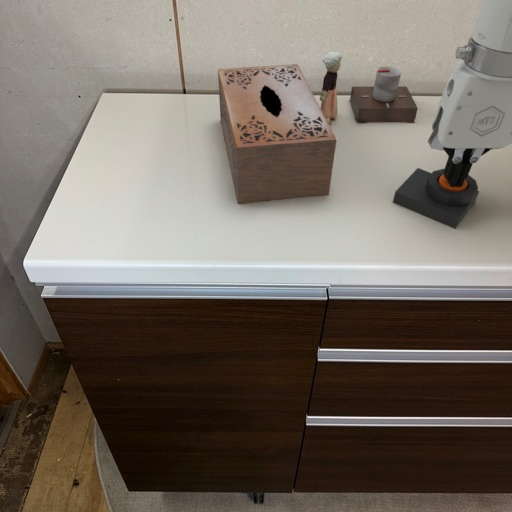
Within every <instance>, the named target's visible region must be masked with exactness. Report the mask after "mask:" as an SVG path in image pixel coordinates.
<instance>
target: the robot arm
mask: <svg viewBox="0 0 512 512" xmlns="http://www.w3.org/2000/svg"><path fill="white" fill-rule="evenodd" d="M455 59H457V60H462V61H458V63H457V65H456V66H455V68H454V70H453V71H452V73H451V75H450V77H449V78H448V81H447V84H446V86H445V88H444V90H443V92H442V94H441V97H440V100H439V102H438V104H437V108H436V111H435V113H434V116H433V120H432V124H431V129H432V132H431V134H430V136H429V137H428V138H427V139H428V140H427V144H428V146H429V147H430V149H433V150H437V151H444V152H445V153H446V154H447V156H448V158H447V160H446V163H445V167H444V168H443V169H444V177H445V178H446V179H447V181H448V183H449V185H450V186H451V187H455V186H458V187H462V186H463V183H464V181H465V178H467V177H468V175H470V171H471V169H472V167H473V164H476V163H478V162H479V160H480V158H481V157H482V156H484V155H485V154H487V153H488V152H490V151H492V150H498V149H503V148H505V147H508V146H510V145H511V144H512V0H482V2H481V6H480V8H479V12H478V15H477V18H476V21H475V24H474V28H473V31H472V34H471V36H470V37H469V38H468V41H467V44H466V45H463V46H458V47H457V48H456V50H455Z"/></svg>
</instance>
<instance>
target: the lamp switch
mask: <svg viewBox="0 0 512 512" xmlns="http://www.w3.org/2000/svg"><path fill="white" fill-rule="evenodd" d="M438 184H439V185H440V186H441V187H442V188H444V189H447V190H449V191H455V192H461V191H465V190H466V187H467V181H466V179H465V181H464V183H463V186H462V187H458V186H455V187H451V186H450V185H449V183H448V181H447V179H446V178H445V177H444V174H443V175H442V176H441V177H440V178H439V181H438Z"/></svg>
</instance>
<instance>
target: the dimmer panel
mask: <svg viewBox="0 0 512 512" xmlns="http://www.w3.org/2000/svg"><path fill="white" fill-rule="evenodd" d="M373 90H374V86H351V91H350V97H349V102H350V105H351V108H352V111H353V114H354V115H353V116H354V118H355V120H356V123H357V124H358V123H359V124H361V123H363V124H366V123H407V124H409V123H411V124H412V123H415V120H416V117H417V114H418V110H419V107H418V105H417V104H416V102H415V100H414V98H413V96H412V94H411V91H409V89H408V87H407V86H398V89H397V94H396V98H395V100H393V101H390V102H382V101H378V100H376V99H374V98H373Z"/></svg>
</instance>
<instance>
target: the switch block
mask: <svg viewBox="0 0 512 512" xmlns="http://www.w3.org/2000/svg"><path fill="white" fill-rule="evenodd" d="M444 169H445V168H441V169H437V170H434V171H432V172H430V171H427V170H424V169H422V168H419V167H417V168H416V169H415V170H414V172H413V173H412V174H410V175H409V177H408V178H407V179H406V180H405V181H404V182H403V183H402V184H401V185H400V186H399V187H398V188H397V189H396V190H395V193H394V196H393V199H392V203H393V204H396V205H398V206H401V207H402V208H404V209H407V210H410V211H412V212H414V213H416V214H419V215H421V216H424V217H426V218H428V219H431V220H433V221H435V222H438V223H440V224H442V225H445V226H447V227H450V228H452V229H454V230H456V229H457V227H458V226H459V224H460V223H461V222H462V221H463V219H464V217H465V216H466V215H467V214H468V212H469V211H470V210H471V208H472V207H473V205H475V202H476V200H477V198H478V196H479V193H480V190H478V189H479V186H478V183H477V180H476V179H474V178H473V177H472V176H471V175H470V174H468V177H467V178H465V179H466V181H467V187H466V190H465V191H461V192H455V191H449V190H447V189H444V188H442V187H441V186H440V185H439V184H438V181H439V178H440V177H441V176H442V175H443V174H444Z"/></svg>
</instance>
